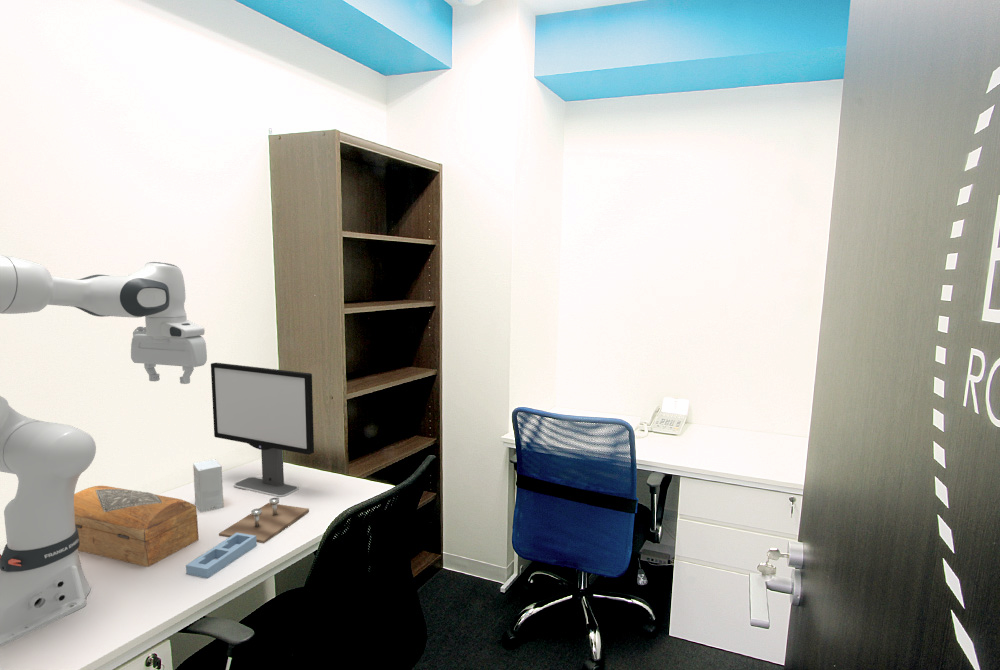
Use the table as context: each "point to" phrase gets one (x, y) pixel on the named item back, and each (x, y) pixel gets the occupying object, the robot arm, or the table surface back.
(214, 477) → the small box
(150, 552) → the wooden box
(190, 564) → the blue compartment tray
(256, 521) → the steel bosses
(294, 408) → the computer monitor
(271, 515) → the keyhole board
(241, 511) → the table surface
